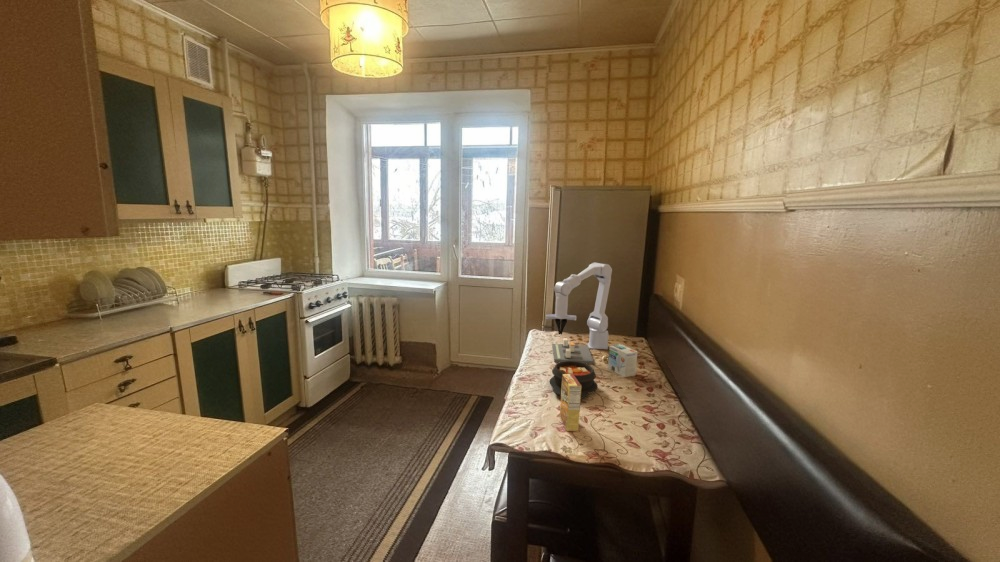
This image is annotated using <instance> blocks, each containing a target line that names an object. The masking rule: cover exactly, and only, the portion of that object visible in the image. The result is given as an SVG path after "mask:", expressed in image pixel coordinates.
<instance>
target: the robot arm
mask: <svg viewBox="0 0 1000 562" xmlns="http://www.w3.org/2000/svg"><path fill="white" fill-rule="evenodd" d="M612 273H613V268H612V267H611V265H610V264H608V263H601V262H600V263H599V262H596V261H595V262H594V261H593V262H592V263H591V264H588V267H586V268H585V269H583V270H582V271H581V272H579V273H578V274H573V273H571V274H570V276H569V277H566V278H564V279H563V280H562V281H557V282H556V283H555V285H554V287H553V291H554V293H555V309H554V311H555V313H552V314H545V320H554V321H555V324H556V327H557V329H558V331H557V332H558V335H563V331H564V329H565V326H566V325H567V322H568V321H577V315H574V314H573V315H572V314H568V307H569V305H568V304H569V295H570V294H571V292H572V291H573V289H575V288H577V287H578V286H580V285H581V283H582V281H583V280H586V279H587V278H589V277H591V276H594V277H595V278H596V279H597V280H598V288H597V291H596V292H597V293H596V299H595V304H594V309H593V311H592V312H590V313H589V316H588V319H587V321H586V325H587V327H588V329H589V335H588V336H589V337H588V338H589V339H588V340H589V342H587V344H586V345H587V346H588V348H589V350H591V349H593V350H594V349H595V350H609V331H608V330H607V329H608V327H609V317H608V315H607V314H606V308H607V303H608V298H609V292H610V287H611V281H612Z"/></svg>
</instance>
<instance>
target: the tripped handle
mask: <svg viewBox="0 0 1000 562" xmlns="http://www.w3.org/2000/svg"><path fill="white" fill-rule="evenodd" d="M569 344H570V350H571V352H574V346H575V345H576V344H575V343H574V342H569Z"/></svg>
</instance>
